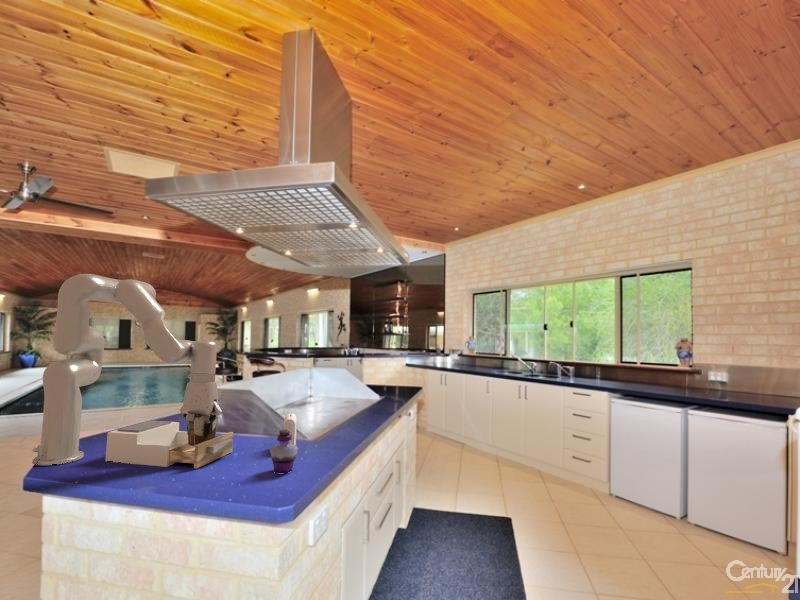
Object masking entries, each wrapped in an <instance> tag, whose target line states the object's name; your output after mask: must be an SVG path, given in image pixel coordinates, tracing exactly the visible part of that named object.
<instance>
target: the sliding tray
mask: <svg viewBox="0 0 800 600" xmlns="http://www.w3.org/2000/svg"><path fill="white" fill-rule="evenodd" d="M233 447H234V431H229V432H226V433H224V434H221V435H218V436H216V437H215V438H213V439H211V440H208V441H206V442H203V443H200V444H198V445H195V446H191V445H189V444H188V443H187V444H184V445H181V446H179V447H176V448H173V449H170V450H169V461H172V462H177V463H187V464H193V469H199V468H201V467H203V466H205V465H207V464H209V463H212V462H213V461H216V460H218V459H220V458H222V457H224V456H227V455H228V454H230V453H233V449H234V448H233Z"/></svg>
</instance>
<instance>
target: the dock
mask: <svg viewBox="0 0 800 600" xmlns="http://www.w3.org/2000/svg"><path fill="white" fill-rule="evenodd" d="M187 443H188V434H187V431H183V430H180V422H177V421H166V420H147V421H143V422H141V423H140V422H139V423H137V424H131V425H128V426H125V427H120V428H117V429H116V430H111V431H108V432H107V437H106V449H105V462H107V461H113V462H112V463H118V462H121V464H129V463H130V465H131V464H132V465H142V466H144V465H145V466H153V467H154V466H155V467H165V468H166V467H169V466H172V465H174V464H176V463H178V462H172V461H169V450H170V449H173V448H176V447H179V446H181V445H184V444H187Z"/></svg>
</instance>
